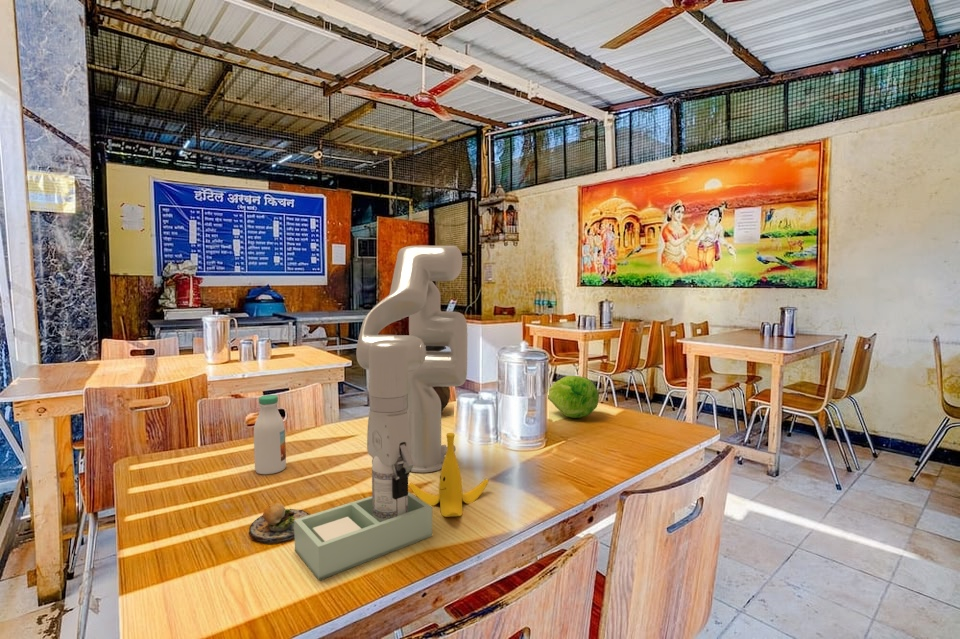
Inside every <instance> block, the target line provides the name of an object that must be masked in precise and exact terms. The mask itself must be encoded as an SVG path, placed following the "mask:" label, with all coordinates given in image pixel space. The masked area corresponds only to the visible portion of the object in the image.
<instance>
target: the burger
mask: <svg viewBox="0 0 960 639" xmlns="http://www.w3.org/2000/svg"><path fill="white" fill-rule="evenodd" d="M266 503H268V502H267V501H266ZM308 515H311V514H310V513H309V512H307V511H306V510H303V509H295V508H289V509H288V508H287V509H286V507H285V506H284V504H282V503H280V502H274V503H271V504H268V506H267V507H266V508H265V509H264V511H263V513H262V515H261V516H259V517H258V518H256V519H255V520H254V521H253V522H252V523H250V525H249V531H248V535H249V536H248V537H249V538H250V540H251V541H253V542H255V541H258V543H262V544H265V545H266V544H267V545H271V544H277V543H282V542H283V543H284V542H287V541H290V540H291V541H292V540H295V535H294V520H295V519H299V518H302V517H305V516H308Z"/></svg>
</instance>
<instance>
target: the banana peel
mask: <svg viewBox="0 0 960 639" xmlns="http://www.w3.org/2000/svg"><path fill="white" fill-rule="evenodd" d="M446 442H447V444H446V447H447V453H446V455H445V459H444V462H443V466H442V469H440V475H439V483H438V494H432V493H429V492H427V491H424V490H423V489H421V488H419V487H418V486H416V485H415V484H414V483H413V482H410V483H408V487H409V488H410V490H411V491H412V493H414V496H416V497H417V498H419V499H421V500H422V501H424V502H425V503H427V504H428V505H430V506H431V507H435V506H436V505H437V504H439V506H440V507H439V508H440V513H441V516H442V517H447V518H448V517H449V518H450V517H451V518H452V517H462V516H463V514H464V513H463V512H464V510H463V503H465V504H468V505H470V504H472V503H475V501H477V500H478V498H479V497H480V496H481V495H482V494H483V492H484V490H485V489H486V487H487V485H488V483H489V479H487V478H485V479H484V480H482V481H481V483H479V484H478V485H477V486H475V487H474V488H472V489H471V490H468V491H467V492H465V493H463V483H462V475H461V471H460V466H459V462H458V459H457V456H456V455H455V454H456V453H455V452H454V446H455V445H454V444H455V443H454V442H455V432H448V433H446Z"/></svg>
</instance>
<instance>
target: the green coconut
mask: <svg viewBox="0 0 960 639" xmlns="http://www.w3.org/2000/svg"><path fill="white" fill-rule="evenodd" d="M548 389H549V395H548V399H547V400H548V401H550V402H551V403H552V404H553V406H554V407H555V408H556V409H557V410H558V411H560V413H561V414H562V415H564V416H566V417H568V418H572V419H581V418H585V417H586V416H589V415H591V414H592V413H593V411H594V410H596V408H597V407H598V404H599V399H600V394H599V390H598V388H597V387H596V385H595V383H594V382H593V381H592V380H591V379H589V378H587V377H585V376H582V375H581V376H580V375H566V376H564V377H561V378H560V379H558V380H557V381H555V382H554V383H553V384H552V385H551V386H550V387H549V388H548Z"/></svg>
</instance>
